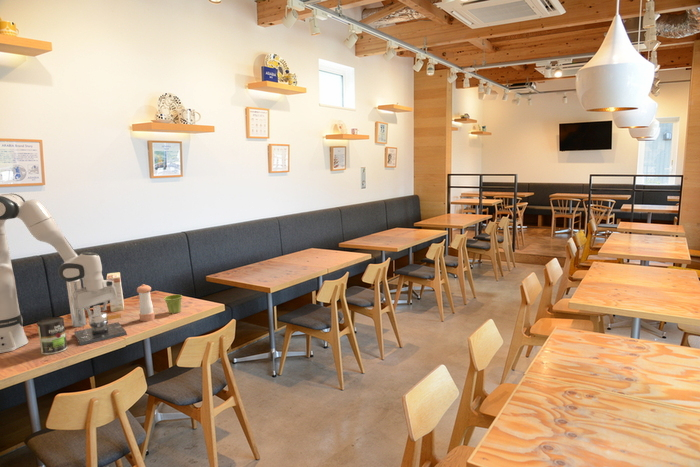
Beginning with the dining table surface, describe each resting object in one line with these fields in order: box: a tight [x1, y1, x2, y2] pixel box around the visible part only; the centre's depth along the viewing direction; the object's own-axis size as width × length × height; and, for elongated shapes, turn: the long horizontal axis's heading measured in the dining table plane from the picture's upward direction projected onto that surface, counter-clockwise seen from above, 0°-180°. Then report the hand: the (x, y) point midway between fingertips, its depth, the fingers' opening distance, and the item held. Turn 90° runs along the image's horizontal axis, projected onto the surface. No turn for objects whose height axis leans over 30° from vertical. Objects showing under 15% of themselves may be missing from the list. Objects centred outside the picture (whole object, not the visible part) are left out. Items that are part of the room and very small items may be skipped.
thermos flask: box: [66, 279, 87, 328], centre depth 248 cm, size 6×6×25 cm
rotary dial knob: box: [88, 304, 122, 328], centre depth 234 cm, size 14×10×9 cm
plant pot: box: [163, 294, 183, 314], centre depth 264 cm, size 9×9×9 cm
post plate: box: [74, 321, 128, 346], centre depth 234 cm, size 20×19×5 cm
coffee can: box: [36, 316, 68, 356], centre depth 215 cm, size 10×10×14 cm
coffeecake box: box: [106, 271, 125, 313], centre depth 277 cm, size 15×7×20 cm, turn 25°
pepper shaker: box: [136, 283, 156, 322], centre depth 253 cm, size 7×7×19 cm
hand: (97, 312), depth 233 cm, fingers open, 6 cm apart
